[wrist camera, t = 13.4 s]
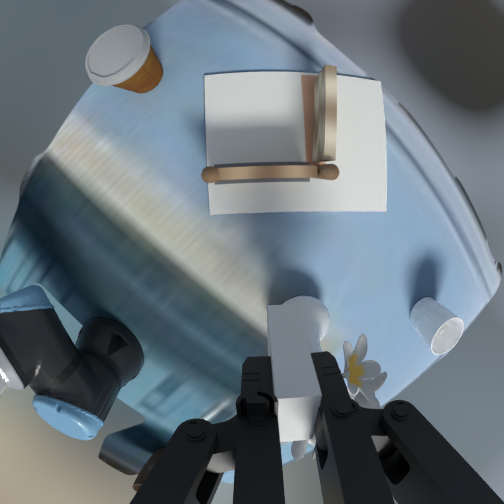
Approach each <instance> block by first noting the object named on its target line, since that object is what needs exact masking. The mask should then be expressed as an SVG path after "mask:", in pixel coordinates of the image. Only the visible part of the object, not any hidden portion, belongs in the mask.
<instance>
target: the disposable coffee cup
mask: <svg viewBox="0 0 504 504" xmlns="http://www.w3.org/2000/svg"><path fill="white" fill-rule="evenodd" d="M85 67H86V71H87V73H88V75H89V78H90V79H91V80H92V81H93V82H94V83H96V84H98V85H101V86H115V87H119V88H123V89H126V90H130V91H133V92H136V93H145V92H148V91H150V90H152V89H154V88H155V87H156V86H157V85H158V84H159V82H160V81H161V79H162V76H163V68H162V66H161V64H160V62H159V60H158V58H157V56H156V54H155V52H154V50H153V48H152V47H151V45H150V38H149V35H148V33H147V32H146V30H144V29H143V28H141V27H139V26H135V25H129V24H124V25H118V26H115V27H113V28H111V29H109V30H107V31H106V32H104V33H103V34H102V35H100V36H99V37H98V38H97V39H96V40H95V42H94V43H93V44H92V46H91V48H90V49H89V51H88V53H87V56H86V61H85Z"/></svg>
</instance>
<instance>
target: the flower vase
mask: <svg viewBox="0 0 504 504" xmlns="http://www.w3.org/2000/svg"><path fill="white" fill-rule="evenodd" d="M287 304H296V306H297V309H298V313H299V316H300V319H301V323H302V326H303V330H304V333H305V336H306V340H307V343H308V347H309V350H310V353H315V352H322V350H321V346H320V341H321V340H322V339H323V338H324V336H325V335H326V333H327V331H328V328H329V325H330V315H329V312H328V309H327V308H326V306H325V305H324V303H322V302H321V301H320V300H318V299H316V298H314V297H311V296H296V297H293V298H291V299H289V300H287V301H286V302H284V303H283V304H282V305H287ZM343 349H344V357H345V369H344V373H342V377H343V378H346V379H347V381H348V388H349V389H347V390H348V392H349V395H350V397H351V399H352V398H353V397H354V400H355V401H356V402H357V403H358V404H359V406H361V407H364V408H370V409H380V404H379V401H378V400H377V398H376V397H375V393H374V392H376V391H378V390H379V389H380V388H381V387H382V385H383V384H384V382H385V380H386V377H387V373H386V372H382V373H381V374H380V372H381V367H380V365H379V364H378V363H377V362H376V361H373V360H367V361H363V362H361V361H362V360H363V359H364V358H365V356H366V353H367V339H366V336H365V335H364V334H362V335H361V336H360V337H359V340H358V342H357V345H356V347H355V349H354V351H353V348H352V346H351V344H350V343H349V342H348V341H345V342H344V345H343ZM372 378H374V379H372ZM363 379H365V380H363ZM371 379H372V380H371ZM288 442H291V441H287V442H280V443H288ZM308 442H309V444H311V445H312V446H315V444H316V439H315V434H314V436H313V439H308V440H298V441H293V443H292V447H291V452H292V456H293V458H294V459H296V460H299V459H301V458H302V457H303V456H304V454H305V452H306V448H307V443H308Z"/></svg>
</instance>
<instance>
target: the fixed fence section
mask: <svg viewBox="0 0 504 504" xmlns="http://www.w3.org/2000/svg"><path fill="white" fill-rule="evenodd" d="M201 176H202V179H203V180H204V181H205V182H206V183H214V182H218V181H222V180H234V179H258V178H316V179H325V180H335V179H337V178H338V176H339V169H338V167H337V166H336V165H335V164H322V165H314V166H305V165H290V166H248V167H228V168H219V167H212V166H209V167H206V168H204V169H203V171H202V174H201Z"/></svg>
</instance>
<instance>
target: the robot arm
mask: <svg viewBox="0 0 504 504" xmlns="http://www.w3.org/2000/svg"><path fill="white" fill-rule="evenodd" d="M267 322H268V356H262V357H247V359H246V360H245V362H244V363H243V364H242V382H241V395H240V396H239V397H238V398H237V401H236V409H237V414H236V415H235V416H234V417H233V418H231V419H230V420H228V421H225V422H221V423H217V424H211V423H210V422H208V421H206V420H204V419H196V418H195V419H190V420H187V421H185V422H183V423H181V424H180V425H179V426H178V428H177V429H176V431H175V432H174V434H173V436H172V437H171V439H170V441H169V442H168V444H167V445H166V447H165V449H164V450H163V452H162V453H161V455H160V457H159V458H158V460H157V462H156V463H155V465H154V466H153V468H152V469H151V471H150V473H149V474H148V476H147V477H146V479H145V481H144V482H143V484H142V485H141V487H140V488H139V490H138V491H137V493H136V495H135V496H134V498H133V499H132V501H131V502H130V504H211V502H212V499H213V497H214V495H215V492H216V490H217V488H218V485H219V483H220V481H221V479H222V476H223V474H224V472H226V471H230V470H235V475H234V493H233V504H285V496H284V483H283V471H282V458H281V446H280V442H287V441H298V440H308V439H313V436H314V434H315V439H316V444H315V448H314V452H313V458H312V459H315V457H316V461H317V466H318V472H319V477H320V484H321V490H322V496H323V502H324V504H395V503H394V500H393V497H394V499H395V500H396V501H397V503H398V504H504V502H503V501H502V500H501V499H500V498H499V496H498V495H497V494H496V493H495V492H494V491H493V490H492V489H491V488H490V487H489V486H488V484H487V483H486V482H485V481H484V480H483V479H482V478H481V477H480V476H479V475H478V474H477V472H476V471H475V470H474V469H473V468H472V467H471V466H470V465H469V464H468V463H467V462H466V461H465V460H464V458H463V457H462V456H461V455H460V454H459V453H458V452H457V451H456V450H455V449H454V448H453V447H452V446H451V445H450V444H449V443H448V441H446V439H445V438H444V437H443V436H442V435H441V434H440V433H439V432H438V431H437V430H436V429H435V428H434V427H433V426H432V425H431V423H430V422H429V421H428V420H427V419H426V418H425V417H424V416H423V415H422V414H421V413H420V412H419V411H418V410H417V409H416V408H415V407H414V406H413V405H412V404H411V403H409V402H407V401H403V400H395V401H392V402H389V403H388V404H387V405H386V406H385V407H384V409H370V408H364V407H361V406H359V404H358V403H357V402H356V401H354V400H353V399H351V397H350V395H349V392H348V390H347V387H346V384H345V382H344V379H343V377H342V374H341V371H340V369H339V367H338V364H337V361H336V359H335V357H334V356H333V355H331V354H330V353H329V352H328V351H325V352H315V353H310V350H309V347H308V343H307V340H306V336H305V333H304V330H303V326H302V323H301V319H300V316H299V313H298V309H297V306H296V304H287V305H267ZM143 364H144V354H143V351H142V348H141V346H140V344H139V342H138V341H137V339H136V338H135V337H134V335H133V334H132V333H131V332H130V331H129V330H128V329H126V328H125V327H124V326H122V325H121V324H119V323H117V322H116V321H113V320H111V319H108V318H102V317H97V318H93V319H90V320H89V321H88V322H87V323H86V324H85V325H84V326H83V327H82V328H81V330H80V332H79V335H78V339H77V341H76V344H75V345H74V343H73V342H72V340H71V338H70V337H69V335H68V333H67V331H66V330H65V328H64V326H63V325H62V323H61V321H60V319H59V317H58V315H57V314H56V312H55V310H54V306H53V305H51V303H50V301H49V299H48V298H47V296H46V294H45V292H44V291H43V289H42V288H41V287H40V286H37V285H31V286H28V287H26V288H23V289H21V290H18V291H16V292H14V293H12V294H9V295H7V296H5V297H3V298H1V299H0V397H1V396H2V395H3V394H4V393H5V392H6V391H7V390H8V389H9V388H14V389H19V390H23V389H24V388H25V387H26V386H27V385H28V384H29V386H30V387H31V388H32V390H33V391H34V392H35V394H36V395H35V396H34V397H33V402H32V404H33V406H34V408H35V410H36V412H37V413H38V414H39V415H40V416H41V417H42V418H43V419H44V420H45V421H46V422H47V423H49V424H50V425H51V426H53V427H54V428H55V429H57V430H59V431H60V432H62V433H64V434H66V435H68V436H70V437H73V438H76V439H80V440H90V439H93V438H94V437H95V436H96V434H97V433H98V431H99V430H100V428H101V427H102V426H103V424H104V421H105V419H106V417H107V414H108V413H109V411H110V408H111V406H112V405H113V403H114V401H115V399H116V397H117V395H118V393H119V391H120V389H121V388H122V387H123V386H125V385H126V384H127V383H128V382H129V381H130V380H132V379H134V378H135V377H136V376H137V375H138V374H139V372H140V370H141V368H142V367H143ZM392 496H393V497H392Z"/></svg>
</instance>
